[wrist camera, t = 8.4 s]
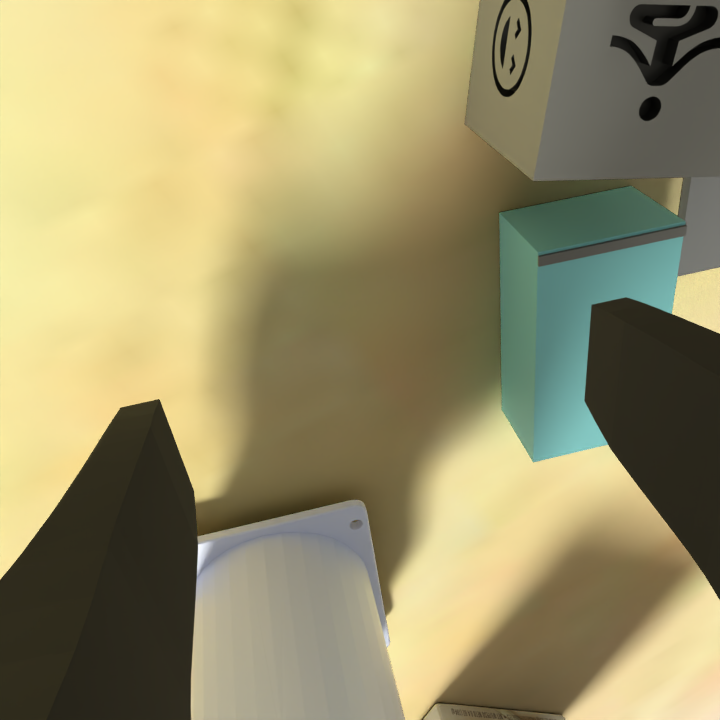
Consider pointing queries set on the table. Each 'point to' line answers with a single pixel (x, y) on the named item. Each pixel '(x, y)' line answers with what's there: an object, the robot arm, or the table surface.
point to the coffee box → (483, 713)
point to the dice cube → (599, 87)
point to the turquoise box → (573, 302)
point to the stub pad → (700, 224)
